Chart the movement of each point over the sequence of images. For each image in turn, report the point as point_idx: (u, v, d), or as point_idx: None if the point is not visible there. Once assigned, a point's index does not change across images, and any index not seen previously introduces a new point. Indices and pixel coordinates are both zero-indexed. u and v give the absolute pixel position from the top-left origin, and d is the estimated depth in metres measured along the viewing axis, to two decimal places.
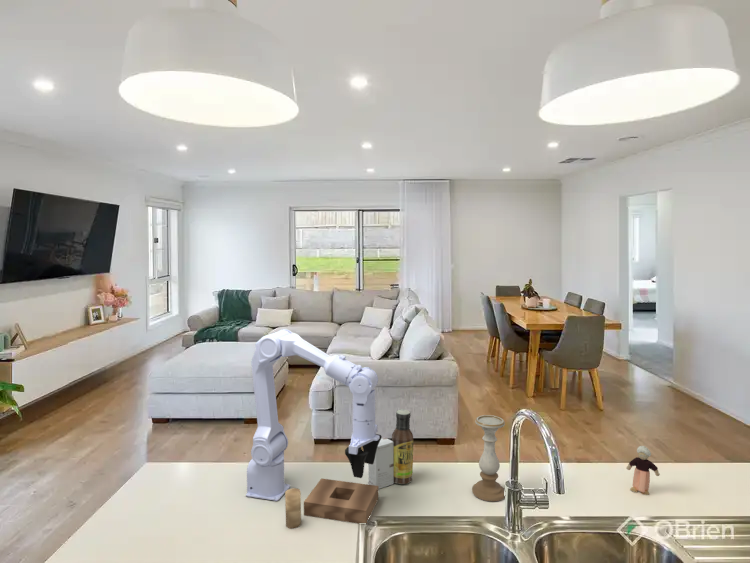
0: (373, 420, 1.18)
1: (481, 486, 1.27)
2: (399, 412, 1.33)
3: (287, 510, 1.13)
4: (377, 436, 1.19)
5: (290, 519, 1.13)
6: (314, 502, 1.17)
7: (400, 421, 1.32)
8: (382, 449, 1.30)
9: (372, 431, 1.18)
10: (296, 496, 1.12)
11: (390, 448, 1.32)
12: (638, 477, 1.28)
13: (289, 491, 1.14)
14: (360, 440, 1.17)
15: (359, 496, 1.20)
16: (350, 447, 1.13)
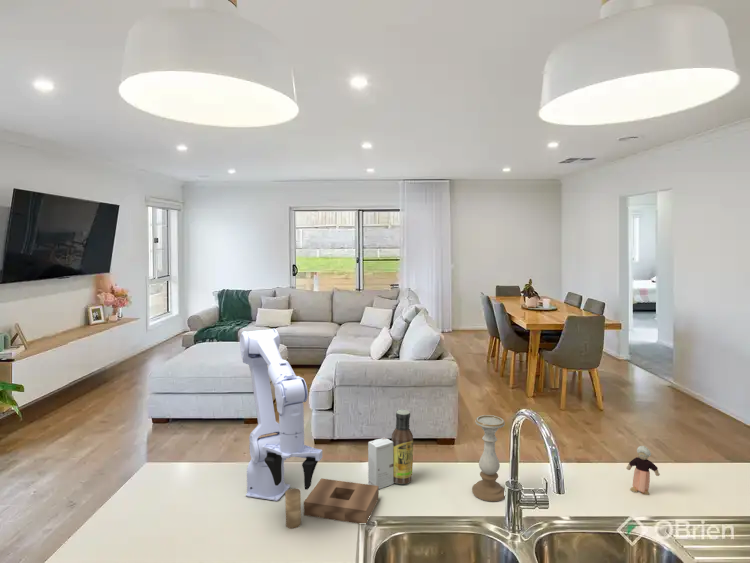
0: (284, 435, 1.10)
1: (481, 486, 1.27)
2: (399, 412, 1.33)
3: (287, 510, 1.13)
4: (286, 454, 1.09)
5: (290, 519, 1.13)
6: (314, 502, 1.17)
7: (400, 421, 1.32)
8: (382, 449, 1.30)
9: (283, 446, 1.10)
10: (296, 496, 1.13)
11: (390, 448, 1.32)
12: (638, 477, 1.28)
13: (289, 491, 1.14)
14: (279, 448, 1.13)
15: (359, 496, 1.20)
16: None
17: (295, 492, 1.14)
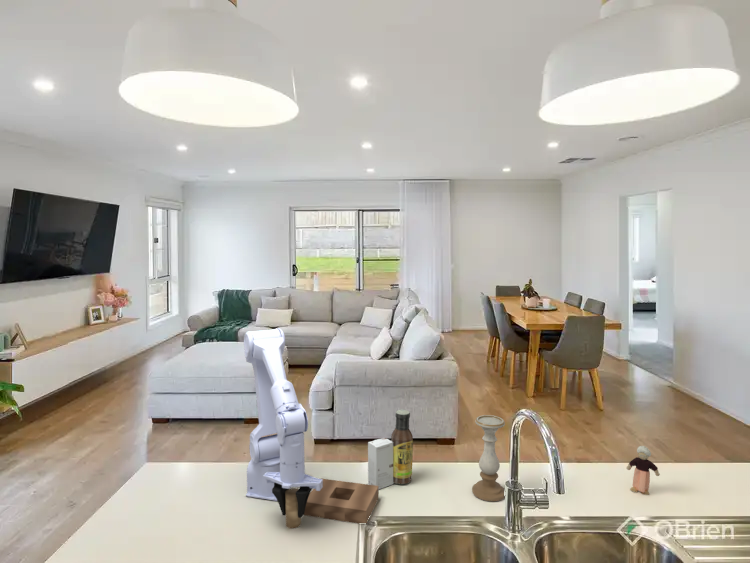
0: (285, 465, 1.11)
1: (481, 486, 1.27)
2: (399, 412, 1.33)
3: (287, 510, 1.13)
4: (286, 485, 1.10)
5: (290, 519, 1.13)
6: (314, 502, 1.17)
7: (400, 421, 1.32)
8: (382, 449, 1.30)
9: (284, 476, 1.11)
10: None
11: (390, 448, 1.32)
12: (638, 477, 1.28)
13: (289, 491, 1.14)
14: (280, 477, 1.14)
15: (359, 496, 1.20)
16: None
17: (295, 492, 1.14)
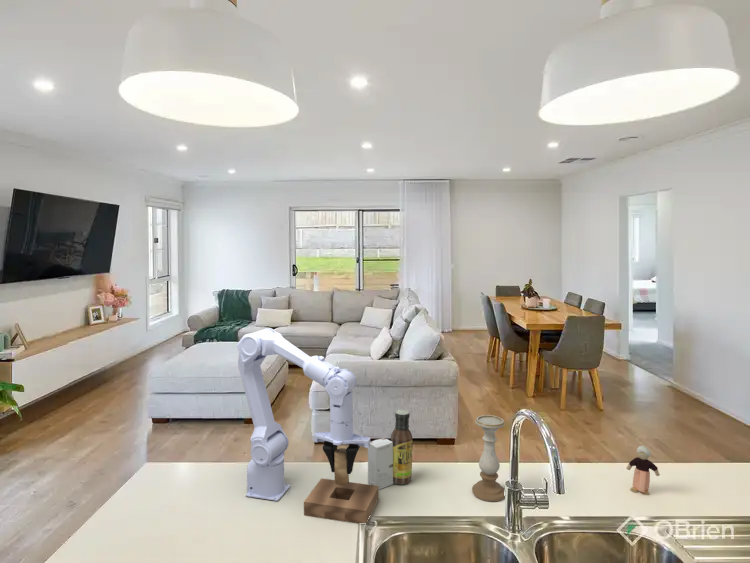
0: (335, 423, 1.17)
1: (481, 486, 1.27)
2: (398, 412, 1.33)
3: (336, 468, 1.19)
4: (337, 442, 1.17)
5: (338, 476, 1.19)
6: (314, 502, 1.17)
7: (400, 421, 1.32)
8: (382, 449, 1.30)
9: (334, 434, 1.18)
10: (345, 455, 1.19)
11: (390, 448, 1.32)
12: (638, 477, 1.28)
13: (338, 450, 1.21)
14: (329, 436, 1.21)
15: (359, 496, 1.20)
16: None
17: (343, 451, 1.20)
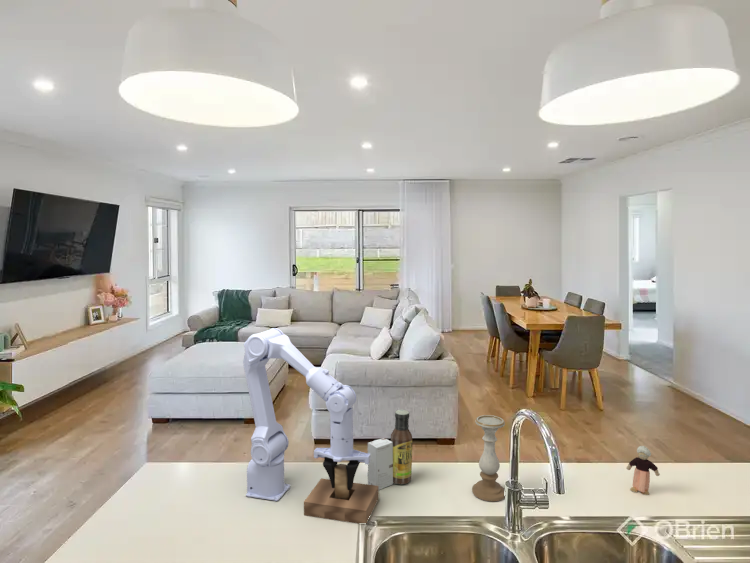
0: (336, 440, 1.18)
1: (481, 486, 1.27)
2: (398, 412, 1.33)
3: (336, 484, 1.20)
4: (338, 458, 1.17)
5: (338, 492, 1.19)
6: (314, 502, 1.17)
7: (400, 421, 1.32)
8: (382, 450, 1.30)
9: (335, 450, 1.18)
10: (345, 471, 1.19)
11: (390, 448, 1.32)
12: (638, 477, 1.28)
13: (338, 466, 1.21)
14: (329, 452, 1.21)
15: (359, 496, 1.20)
16: None
17: (344, 467, 1.20)
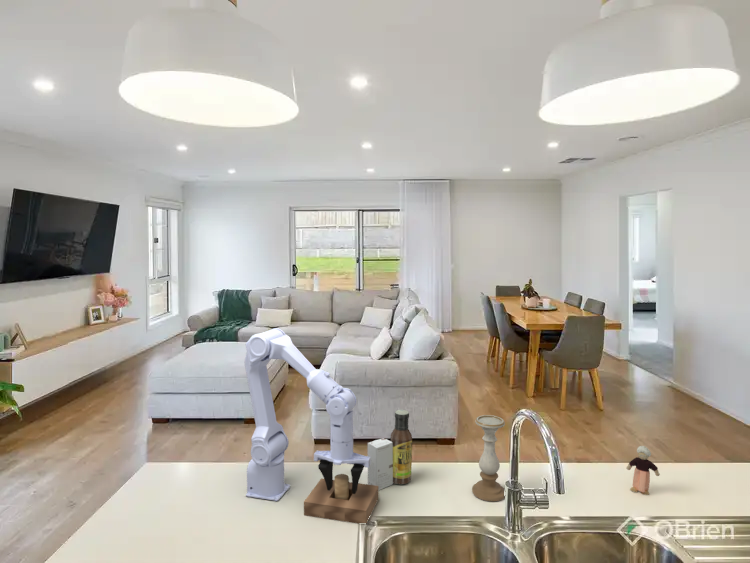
0: (336, 443, 1.18)
1: (481, 486, 1.27)
2: (398, 412, 1.33)
3: (336, 494, 1.20)
4: (338, 461, 1.17)
5: None
6: (314, 502, 1.17)
7: (400, 421, 1.32)
8: (382, 450, 1.30)
9: (335, 453, 1.18)
10: (345, 481, 1.19)
11: (390, 448, 1.32)
12: (638, 477, 1.28)
13: (338, 476, 1.21)
14: (329, 455, 1.21)
15: (359, 496, 1.20)
16: None
17: (344, 477, 1.21)
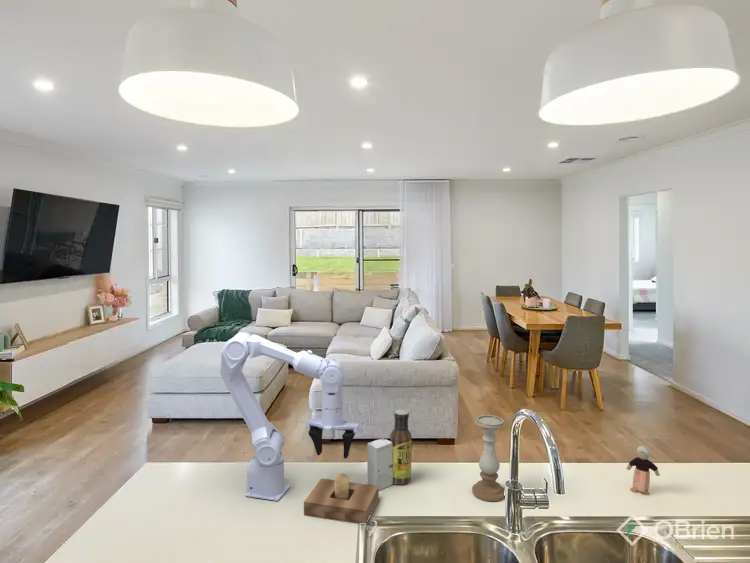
0: (326, 410, 1.25)
1: (481, 486, 1.27)
2: (398, 412, 1.33)
3: (336, 494, 1.20)
4: (328, 427, 1.25)
5: None
6: (314, 502, 1.17)
7: (399, 422, 1.32)
8: (382, 450, 1.30)
9: (325, 419, 1.26)
10: (345, 481, 1.19)
11: (390, 448, 1.32)
12: (638, 477, 1.28)
13: (338, 476, 1.21)
14: (321, 422, 1.29)
15: (359, 496, 1.20)
16: None
17: (343, 477, 1.21)
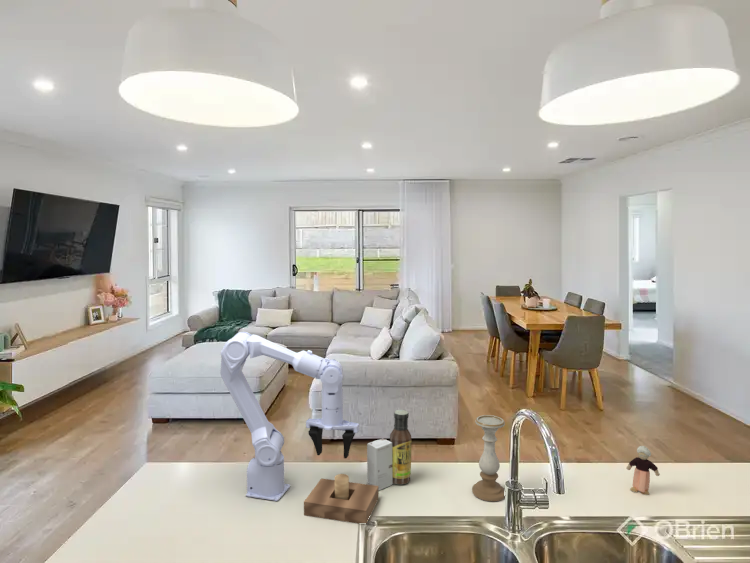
0: (326, 410, 1.25)
1: (481, 486, 1.27)
2: (397, 412, 1.33)
3: (336, 494, 1.20)
4: (328, 427, 1.25)
5: None
6: (314, 502, 1.17)
7: (399, 422, 1.32)
8: (382, 450, 1.30)
9: (325, 419, 1.26)
10: (345, 481, 1.19)
11: (389, 448, 1.32)
12: (638, 477, 1.28)
13: (338, 476, 1.21)
14: (321, 422, 1.29)
15: (359, 496, 1.20)
16: None
17: (344, 477, 1.21)
